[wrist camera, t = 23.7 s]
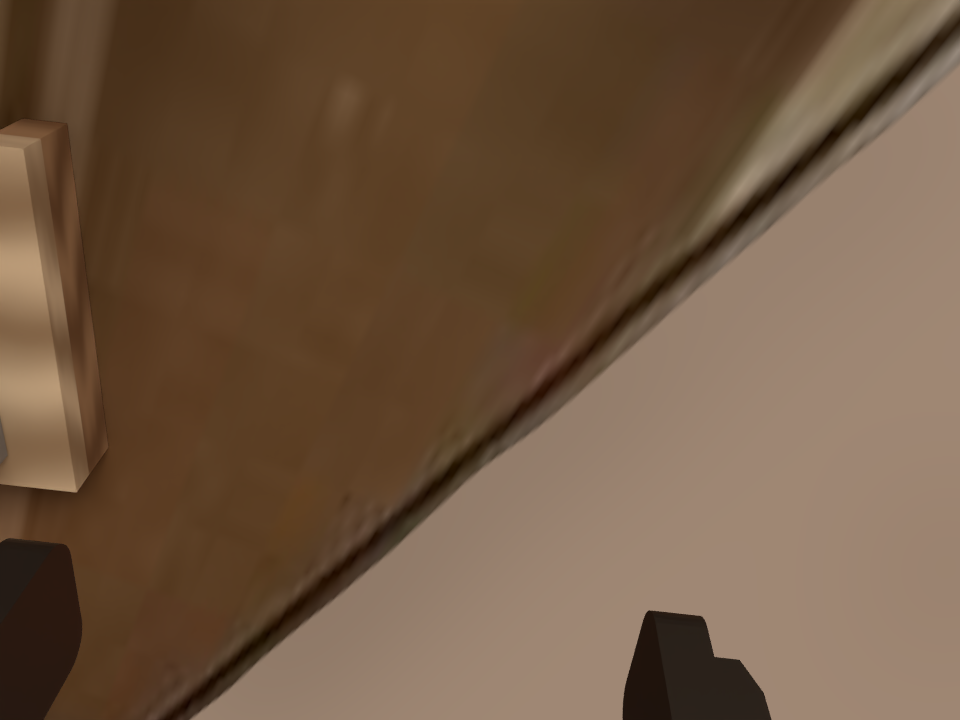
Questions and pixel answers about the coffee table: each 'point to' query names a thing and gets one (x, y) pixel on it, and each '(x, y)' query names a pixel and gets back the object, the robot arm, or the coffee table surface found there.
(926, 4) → the coffee table surface
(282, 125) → the coffee table surface
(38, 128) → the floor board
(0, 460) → the grey box
